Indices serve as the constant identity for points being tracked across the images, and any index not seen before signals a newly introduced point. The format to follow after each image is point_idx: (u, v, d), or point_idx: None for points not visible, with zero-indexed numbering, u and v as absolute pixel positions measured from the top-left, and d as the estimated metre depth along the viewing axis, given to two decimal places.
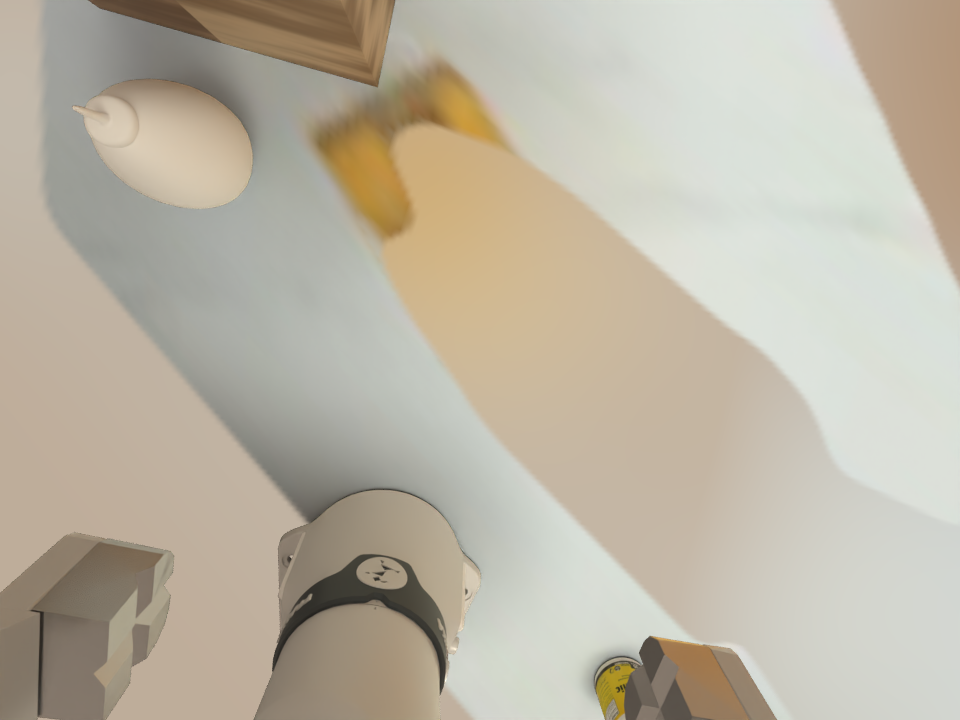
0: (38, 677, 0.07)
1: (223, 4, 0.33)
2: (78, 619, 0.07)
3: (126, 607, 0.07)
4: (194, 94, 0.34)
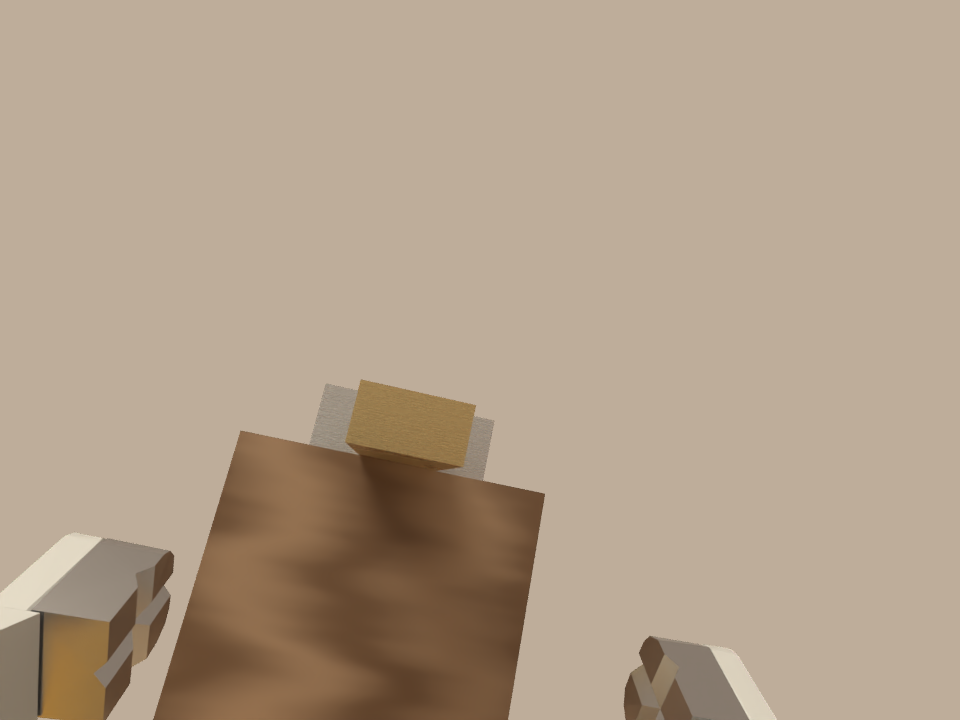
0: (38, 677, 0.07)
1: None
2: (78, 619, 0.07)
3: (126, 607, 0.07)
4: None
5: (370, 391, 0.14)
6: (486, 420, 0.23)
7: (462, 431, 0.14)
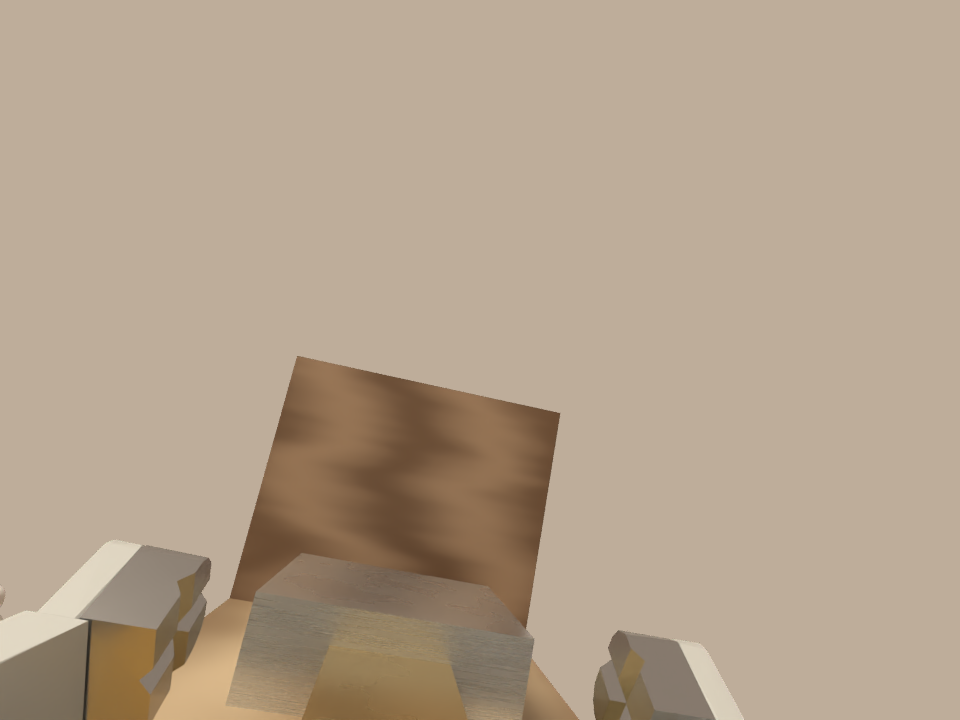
0: (84, 684, 0.07)
1: None
2: (125, 627, 0.07)
3: (170, 614, 0.08)
4: None
5: None
6: (521, 639, 0.14)
7: None
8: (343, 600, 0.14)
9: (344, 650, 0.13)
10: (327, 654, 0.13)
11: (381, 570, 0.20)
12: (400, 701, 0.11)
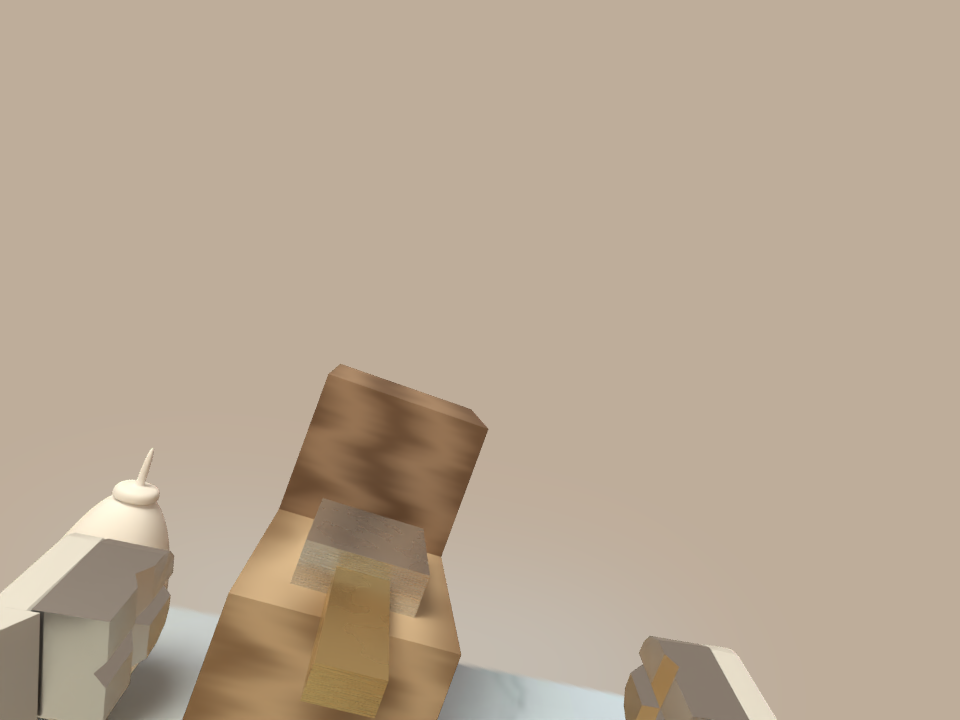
0: (38, 677, 0.07)
1: None
2: (78, 619, 0.07)
3: (126, 607, 0.07)
4: None
5: (319, 670, 0.21)
6: (424, 574, 0.30)
7: (377, 697, 0.22)
8: (344, 545, 0.30)
9: (343, 569, 0.30)
10: (336, 571, 0.29)
11: (365, 514, 0.36)
12: (364, 599, 0.27)
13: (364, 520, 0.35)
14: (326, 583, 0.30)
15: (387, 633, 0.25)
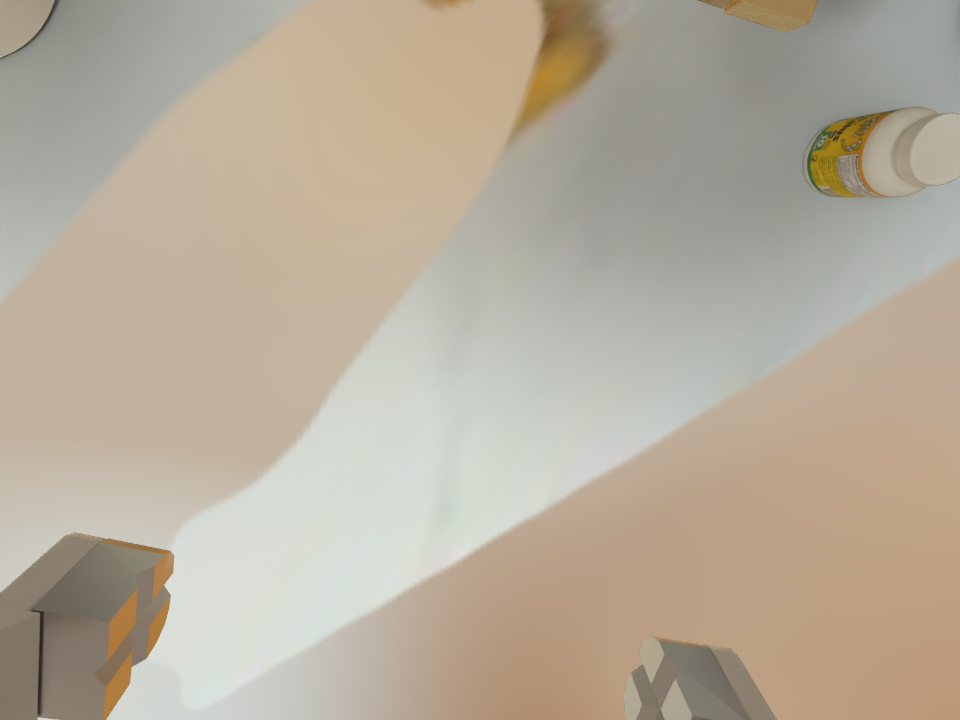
0: (37, 677, 0.07)
1: None
2: (78, 619, 0.07)
3: (126, 607, 0.07)
4: None
5: (746, 4, 0.23)
6: None
7: (794, 25, 0.23)
8: None
9: None
10: None
11: None
12: None
13: None
14: None
15: None
